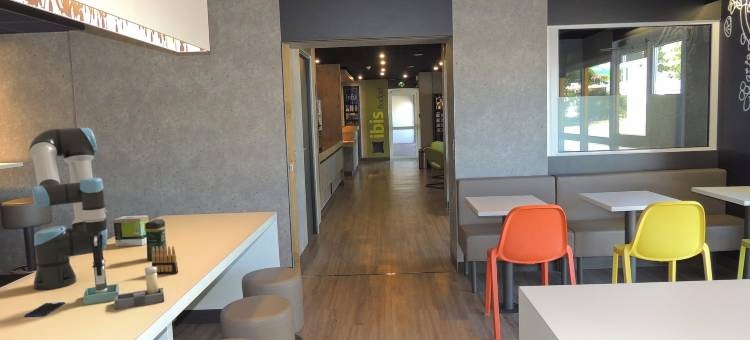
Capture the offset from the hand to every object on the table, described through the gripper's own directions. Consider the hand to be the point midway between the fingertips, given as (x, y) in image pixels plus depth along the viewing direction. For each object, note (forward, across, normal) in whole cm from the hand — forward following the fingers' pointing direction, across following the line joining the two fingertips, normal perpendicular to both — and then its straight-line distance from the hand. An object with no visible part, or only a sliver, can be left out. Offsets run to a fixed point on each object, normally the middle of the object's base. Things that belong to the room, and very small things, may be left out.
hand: (100, 282), depth 208 cm
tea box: (+6, +96, -10) cm, 97 cm away
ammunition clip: (+6, +23, -23) cm, 33 cm away
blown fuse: (+4, 0, 0) cm, 4 cm away
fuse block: (+6, -13, -13) cm, 19 cm away
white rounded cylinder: (+6, -13, -18) cm, 23 cm away
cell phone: (+7, -4, +18) cm, 20 cm away
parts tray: (+6, 0, 0) cm, 6 cm away
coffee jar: (+6, +54, -21) cm, 58 cm away
